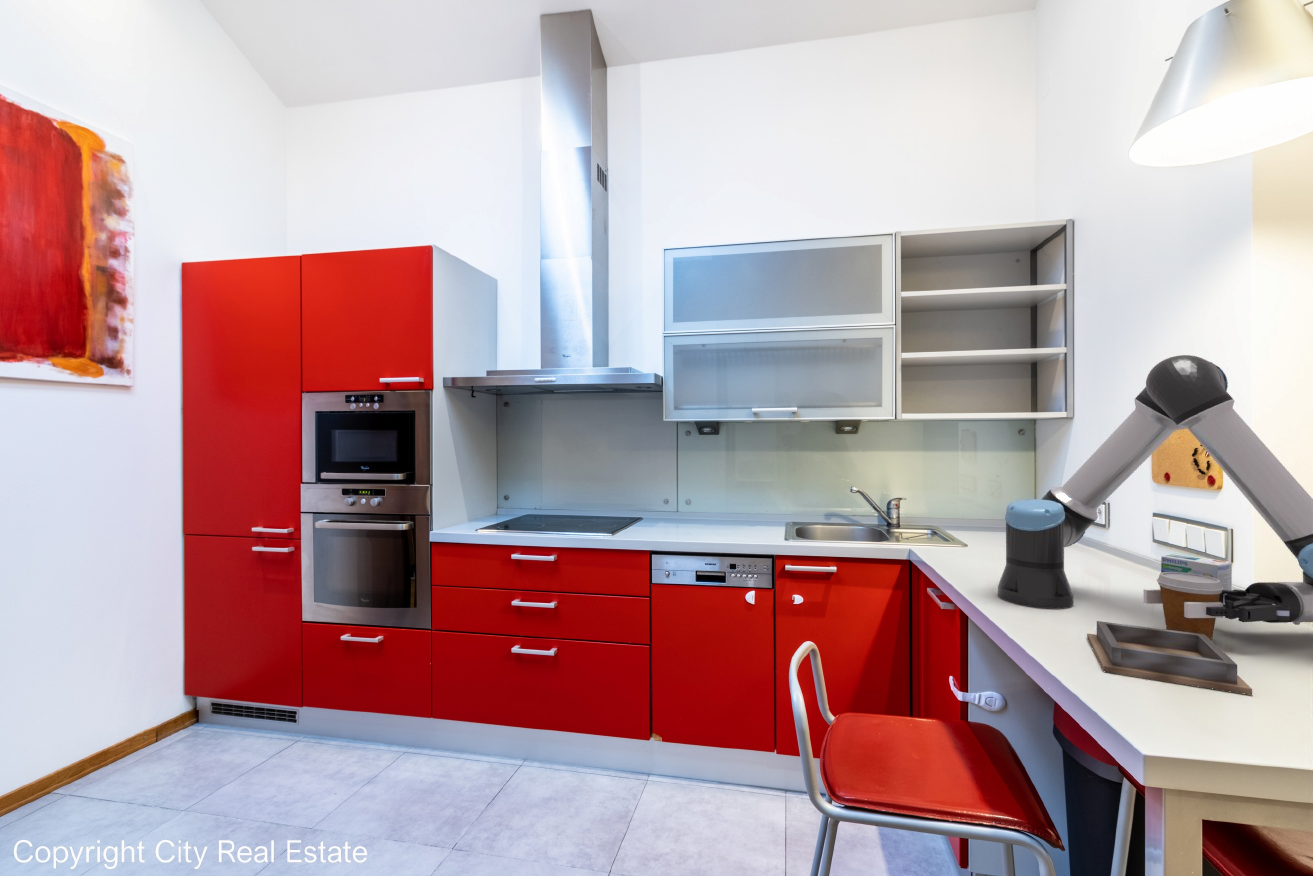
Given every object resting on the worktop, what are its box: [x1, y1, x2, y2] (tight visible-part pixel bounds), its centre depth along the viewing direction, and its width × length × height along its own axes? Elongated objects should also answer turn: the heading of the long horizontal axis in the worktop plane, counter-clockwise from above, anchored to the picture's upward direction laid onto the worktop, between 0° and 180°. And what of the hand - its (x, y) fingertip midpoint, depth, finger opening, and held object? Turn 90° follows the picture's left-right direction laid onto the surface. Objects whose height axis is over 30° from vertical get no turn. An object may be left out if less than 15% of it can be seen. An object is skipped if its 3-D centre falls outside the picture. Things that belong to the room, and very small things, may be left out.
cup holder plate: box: [1086, 620, 1253, 696], centre depth 100 cm, size 18×18×4 cm
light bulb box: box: [1160, 553, 1233, 605], centre depth 133 cm, size 11×7×11 cm, turn 25°
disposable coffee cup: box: [1156, 572, 1224, 642], centre depth 111 cm, size 10×10×12 cm
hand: (1164, 603), depth 111 cm, fingers closed on disposable coffee cup, 8 cm apart
